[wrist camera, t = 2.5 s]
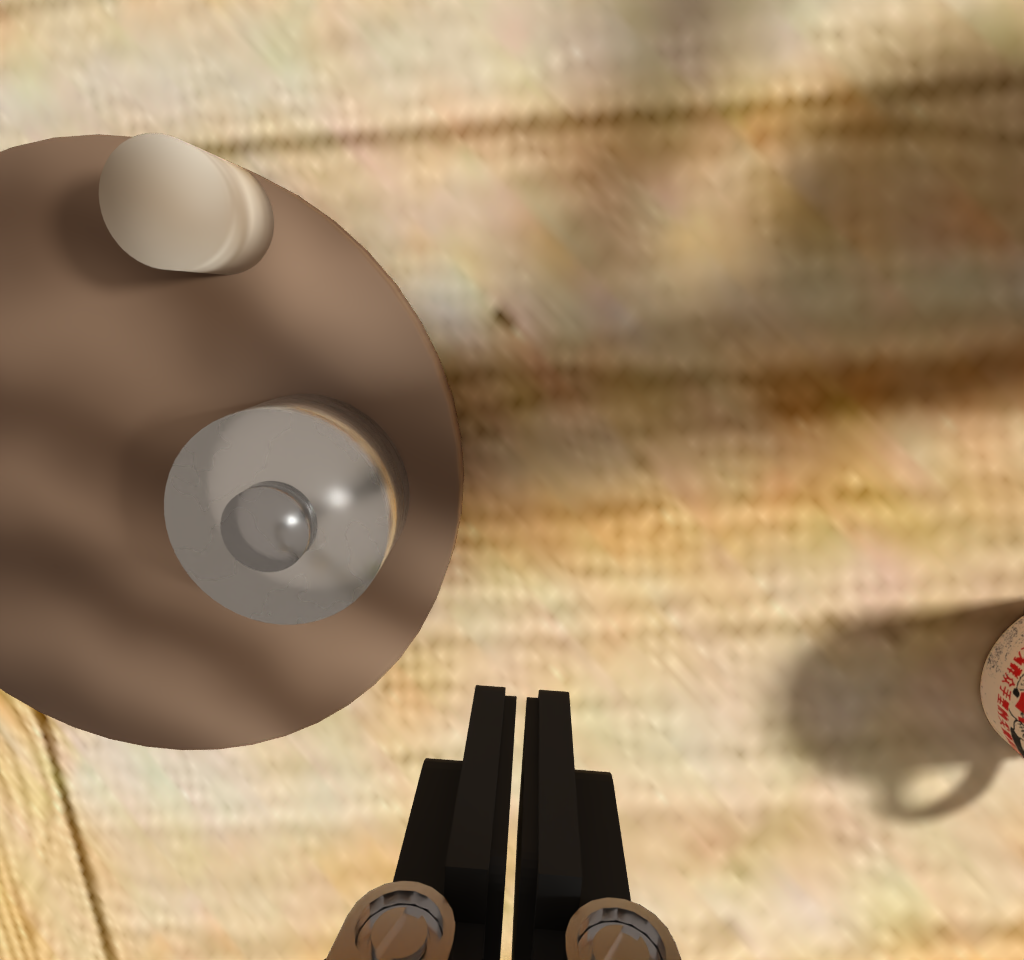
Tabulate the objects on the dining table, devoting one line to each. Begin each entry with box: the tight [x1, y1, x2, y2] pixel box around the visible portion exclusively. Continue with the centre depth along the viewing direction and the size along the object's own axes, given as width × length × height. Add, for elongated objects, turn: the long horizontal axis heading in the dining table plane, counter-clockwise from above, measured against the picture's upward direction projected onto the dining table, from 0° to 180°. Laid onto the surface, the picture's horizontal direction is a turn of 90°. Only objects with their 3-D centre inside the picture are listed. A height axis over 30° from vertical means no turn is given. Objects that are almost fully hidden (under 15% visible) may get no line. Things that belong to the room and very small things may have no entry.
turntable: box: [0, 133, 464, 750], centre depth 27 cm, size 26×26×6 cm
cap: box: [164, 394, 410, 625], centre depth 25 cm, size 8×8×5 cm
